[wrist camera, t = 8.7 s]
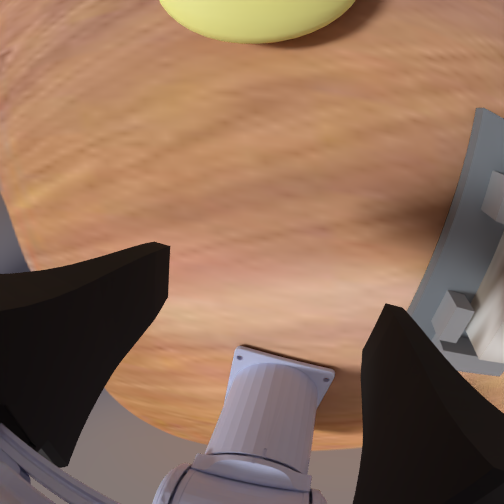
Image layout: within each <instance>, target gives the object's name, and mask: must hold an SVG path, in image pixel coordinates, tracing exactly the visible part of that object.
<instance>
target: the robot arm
mask: <svg viewBox="0 0 504 504" xmlns="http://www.w3.org/2000/svg"><path fill="white" fill-rule="evenodd" d="M169 259H170V246H167V245H164V244H160V243H157V242H150V243H145V244H141V245H138V246H134V247H131V248H128V249H124V250H121V251H118V252H114V253H111V254H108V255H105V256H101V257H98V258H94V259H90V260H87V261H83V262H79V263H76V264H72V265H67V266H63V267H58V268H52V269H47V270H41V271H32V272H23V273H15V274H14V273H13V274H0V504H55V503H54V502H53V501H51V500H50V499H49V498H47V497H46V496H45V495H43V494H42V493H41V492H39V491H38V490H37V489H35V488H34V487H33V486H32V485H31V484H30V477H29V475H30V476H31V477H32V478H33V479H35V480H36V481H37V482H39V483H40V484H42V485H43V486H44V487H45V488H47V489H49V490H50V491H51V492H52V493H54V494H55V495H57V496H58V497H60V498H62V499H63V500H64V501H66V502H67V503H69V504H120V503H118V502H116V501H114V500H112V499H110V498H108V497H106V496H105V495H103V494H101V493H99V492H97V491H95V490H94V489H92V488H90V487H88V486H87V485H85V484H84V483H82V482H80V481H79V480H77V479H75V478H74V477H72V476H71V475H69V474H67V473H66V472H64V471H63V470H61V469H60V468H61V467H66V466H68V464H69V461H70V458H71V456H72V453H73V451H74V448H75V446H76V443H77V441H78V438H79V436H80V433H81V431H82V429H83V427H84V425H85V423H86V420H87V419H88V416H89V414H90V412H91V410H92V409H93V407H94V405H95V403H96V401H97V399H98V397H99V396H100V394H101V392H102V390H103V388H104V387H105V385H106V383H107V382H108V380H109V378H110V377H111V375H112V373H113V372H114V370H115V369H116V368H117V366H118V365H119V363H120V362H121V361H122V359H123V358H124V357H125V356H126V354H127V353H128V352H129V351H130V349H131V348H132V347H133V346H134V344H135V343H136V342H137V341H138V340H139V338H140V337H141V336H142V335H143V333H144V332H145V331H146V330H147V328H148V327H149V326H150V325H151V323H152V322H153V321H154V319H155V318H156V316H157V315H158V313H159V311H160V310H161V308H162V306H163V305H164V303H165V301H166V299H167V298H168V282H169ZM240 356H242V357H240ZM334 377H335V371H334V370H333V369H329V368H325V367H321V366H316V365H312V364H308V363H304V362H300V361H296V360H292V359H288V358H284V357H280V356H276V355H272V354H269V353H265V352H261V351H258V350H254V349H251V348H247V347H244V346H238V347H236V349H235V352H234V357H233V362H232V367H231V372H230V377H229V382H228V387H227V392H226V397H225V402H224V406H223V409H222V411H221V414H220V417H219V419H218V422H217V424H216V427H215V429H214V432H213V434H212V437H211V439H210V442H209V444H208V447H207V449H206V451H205V454H200V453H198V454H197V455H196V457H195V459H194V461H193V464H188V463H182V464H180V465H179V466H177V467H175V468H173V469H172V470H170V471H169V472H168V473H167V475H166V476H165V477H164V479H163V480H162V482H161V484H160V486H159V488H158V490H157V492H156V495H155V497H154V500H153V503H152V504H327V501H326V499H325V498H324V496H323V495H322V494H321V491H320V490H318V489H310V486H311V480H312V476H311V475H307V473H308V467H309V461H310V454H311V447H312V440H313V432H314V424H315V416H316V409H317V407H318V406H319V404H320V402H321V401H322V399H323V397H324V395H325V393H326V392H327V390H328V388H329V386H330V384H331V383H332V381H333V379H334ZM325 378H328V379H325ZM361 392H362V414H363V446H362V454H361V462H360V470H359V475H358V481H357V486H356V491H355V496H354V500H353V504H504V413H502V412H501V411H500V410H498V409H497V408H496V407H495V406H494V405H492V404H491V403H490V402H489V401H488V400H486V399H485V398H484V397H483V396H482V395H481V394H480V393H479V392H478V391H477V390H476V389H474V388H473V387H472V386H471V385H470V384H469V383H468V382H467V381H466V380H465V379H464V378H463V377H462V376H461V375H460V373H459V372H458V371H457V370H456V369H455V368H454V367H453V366H452V365H451V363H450V362H449V361H448V360H447V359H446V358H445V357H444V356H443V354H442V353H441V352H440V351H439V350H438V348H437V347H436V346H435V345H434V344H433V342H432V341H431V340H430V339H429V337H428V336H427V335H426V334H425V333H424V331H423V330H422V329H421V328H420V327H419V325H418V324H417V323H416V322H415V321H414V319H413V318H412V317H411V316H410V315H409V314H408V313H407V312H406V311H405V310H404V309H403V308H402V307H398V306H394V305H390V304H385V306H384V308H383V310H382V312H381V314H380V317H379V319H378V321H377V323H376V325H375V327H374V329H373V331H372V333H371V335H370V337H369V339H368V341H367V343H366V345H365V347H364V348H363V351H362V364H361Z"/></svg>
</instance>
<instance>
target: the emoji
mask: <svg viewBox="0 0 504 504" xmlns="http://www.w3.org/2000/svg"><path fill="white" fill-rule="evenodd" d="M159 1H160V3H161V5H162V6H163V7H164V9H165V10H166V11H167V12H168V14H169V15H170V16H171V17H172V18H174V19H175V20H176V21H177V22H178V23H179V24H181V25H183V26H184V27H186V28H188V29H189V30H191V31H193V32H195V33H198V34H200V35H203V36H205V37H208V38H212V39H216V40H220V41H224V42H232V43H240V44H262V43H272V42H279V41H284V40H289V39H294V38H297V37H300V36H303V35H306V34H309V33H312V32H314V31H316V30H318V29H320V28H322V27H325V26H327V25H328V24H330V23H331V22H333V21H334V20H336V19H337V18H339V17H340V16H341V15H342V14H343V13H345V12H346V11H347V10H348V9H349V8H350V7H351V6H352V4H353V3H354V2H355V0H159Z"/></svg>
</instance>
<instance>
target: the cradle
mask: <svg viewBox="0 0 504 504" xmlns="http://www.w3.org/2000/svg"><path fill="white" fill-rule="evenodd" d="M503 232H504V119H503V118H501V117H500V116H498V115H496V114H494V113H492V112H491V111H489V110H487V109H485V108H476V112H475V118H474V123H473V127H472V132H471V136H470V141H469V145H468V149H467V153H466V157H465V161H464V165H463V168H462V172H461V175H460V179H459V182H458V186H457V189H456V192H455V195H454V198H453V201H452V204H451V207H450V210H449V213H448V216H447V219H446V222H445V225H444V227H443V230H442V233H441V235H440V238H439V241H438V243H437V246H436V248H435V251H434V253H433V256H432V258H431V260H430V263H429V265H428V267H427V270H426V272H425V274H424V277H423V279H422V281H421V283H420V285H419V288H418V290H417V292H416V294H415V296H414V298H413V300H412V302H411V304H410V306H409V308H408V310H407V313H408V314H409V315H410V316H411V317H412V318H413V319H414V321H415V322H416V323H417V324H418V325H419V327H420V328H421V329H422V330H423V331H424V333H425V334H426V335H427V336H428V337H429V339H430V340H431V341H432V342H433V344H434V345H435V346H436V347H437V348H438V350H439V351H440V352H441V353H442V354H443V356H444V357H445V358H446V359H447V360H448V361H449V362H450V363H451V365H452V366H453V367H454V368H455V369H456V370H457V371H462V372H469V373H476V374H484V375H492V376H500V375H501V374H502V373H503V371H504V363H498V362H491V361H485V360H479V359H478V356H477V354H476V352H475V350H474V347H473V345H472V343H471V341H470V339H469V337H468V335H467V333H466V330H465V328H466V326H467V324H468V323H469V321H470V319H471V318H472V316H473V314H474V312H475V311H474V309H473V308H472V306H471V302H472V300H473V298H474V296H475V294H476V292H477V290H478V288H479V286H480V284H481V282H482V280H483V278H484V276H485V274H486V272H487V270H488V267H489V265H490V263H491V261H492V259H493V256H494V254H495V252H496V249H497V247H498V244H499V242H500V239H501V237H502V234H503Z"/></svg>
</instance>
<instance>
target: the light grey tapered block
mask: <svg viewBox="0 0 504 504" xmlns="http://www.w3.org/2000/svg"><path fill="white" fill-rule="evenodd" d="M471 306H472V308H473V309H474V311H475V312H474V314H473V316H472V318H471V319H470V321H469V323H468V324H467V326H466V328H465V330H466V333H467V335H468V337H469V339H470V341H471V343H472V345H473V347H474V350H475V352H476V354H477V356H478V359H479V360H485V361H491V362H498V363H504V232H503V234H502V237H501V239H500V242H499V244H498V247H497V249H496V252H495V254H494V256H493V259H492V261H491V263H490V265H489V267H488V270H487V272H486V274H485V276H484V278H483V280H482V282H481V284H480V286H479V288H478V290H477V292H476V294H475V296H474V298H473V300H472V302H471Z"/></svg>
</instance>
